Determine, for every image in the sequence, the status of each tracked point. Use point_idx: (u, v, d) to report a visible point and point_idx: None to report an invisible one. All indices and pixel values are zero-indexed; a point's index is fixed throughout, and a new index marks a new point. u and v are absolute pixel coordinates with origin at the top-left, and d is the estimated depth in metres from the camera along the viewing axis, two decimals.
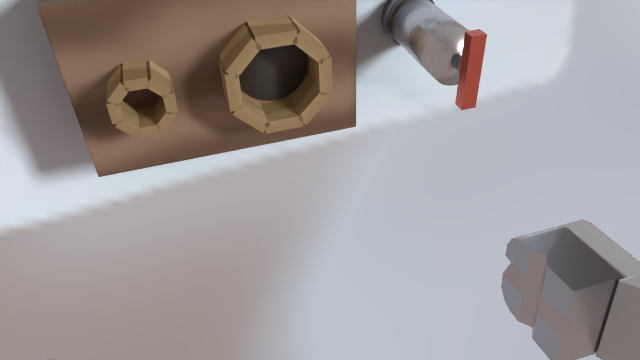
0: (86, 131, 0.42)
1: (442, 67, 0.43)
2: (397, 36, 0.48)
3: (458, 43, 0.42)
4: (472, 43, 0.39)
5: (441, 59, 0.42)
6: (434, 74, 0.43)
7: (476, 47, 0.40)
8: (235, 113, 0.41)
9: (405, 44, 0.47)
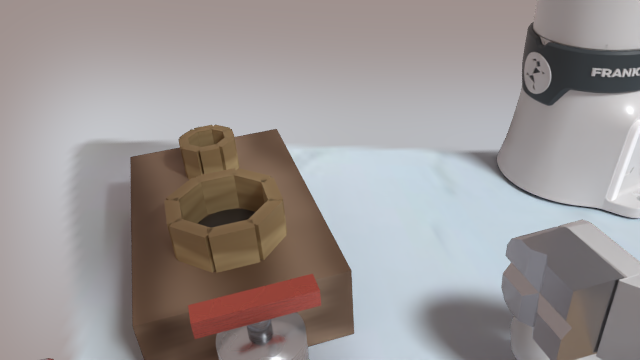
0: (177, 149, 0.52)
1: None
2: None
3: (287, 325, 0.27)
4: (302, 279, 0.26)
5: None
6: None
7: (297, 285, 0.26)
8: (193, 179, 0.41)
9: None
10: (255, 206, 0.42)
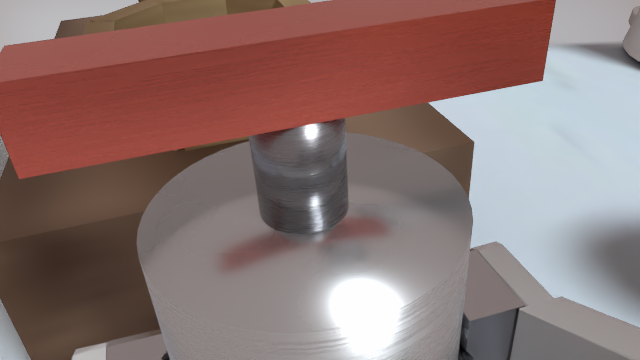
0: None
1: None
2: None
3: (395, 181, 0.08)
4: None
5: None
6: (217, 154, 0.09)
7: None
8: (148, 0, 0.22)
9: None
10: None
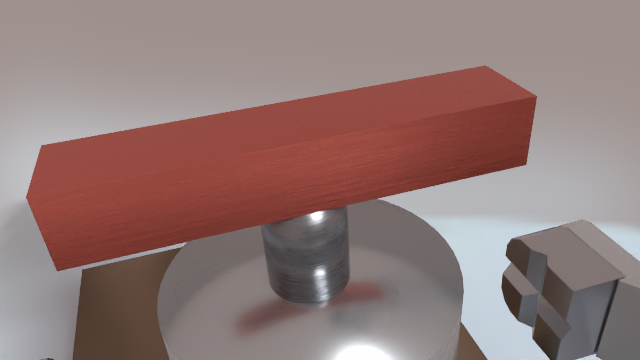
0: None
1: None
2: None
3: (393, 247, 0.08)
4: None
5: None
6: None
7: (446, 89, 0.07)
8: None
9: None
10: None
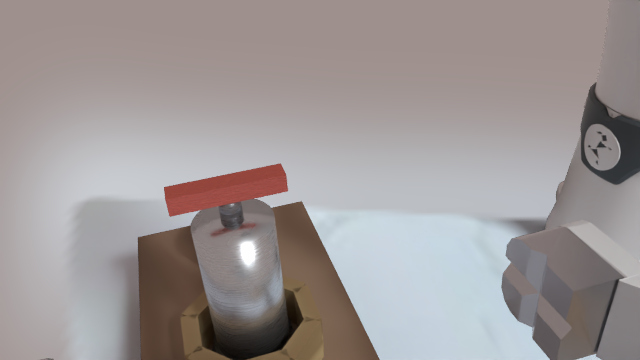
0: (190, 227, 0.46)
1: None
2: None
3: (257, 214, 0.29)
4: (271, 168, 0.28)
5: None
6: None
7: (265, 171, 0.28)
8: None
9: None
10: None
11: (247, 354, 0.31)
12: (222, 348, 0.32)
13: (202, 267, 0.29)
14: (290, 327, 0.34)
